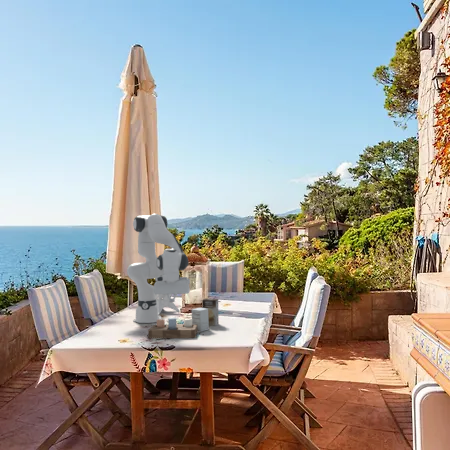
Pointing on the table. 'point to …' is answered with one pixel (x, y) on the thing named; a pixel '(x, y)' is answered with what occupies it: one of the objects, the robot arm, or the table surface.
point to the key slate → (172, 324)
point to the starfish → (164, 302)
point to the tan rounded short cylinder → (160, 323)
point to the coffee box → (211, 311)
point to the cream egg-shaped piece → (187, 322)
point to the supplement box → (200, 318)
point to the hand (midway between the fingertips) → (172, 301)
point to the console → (173, 332)
